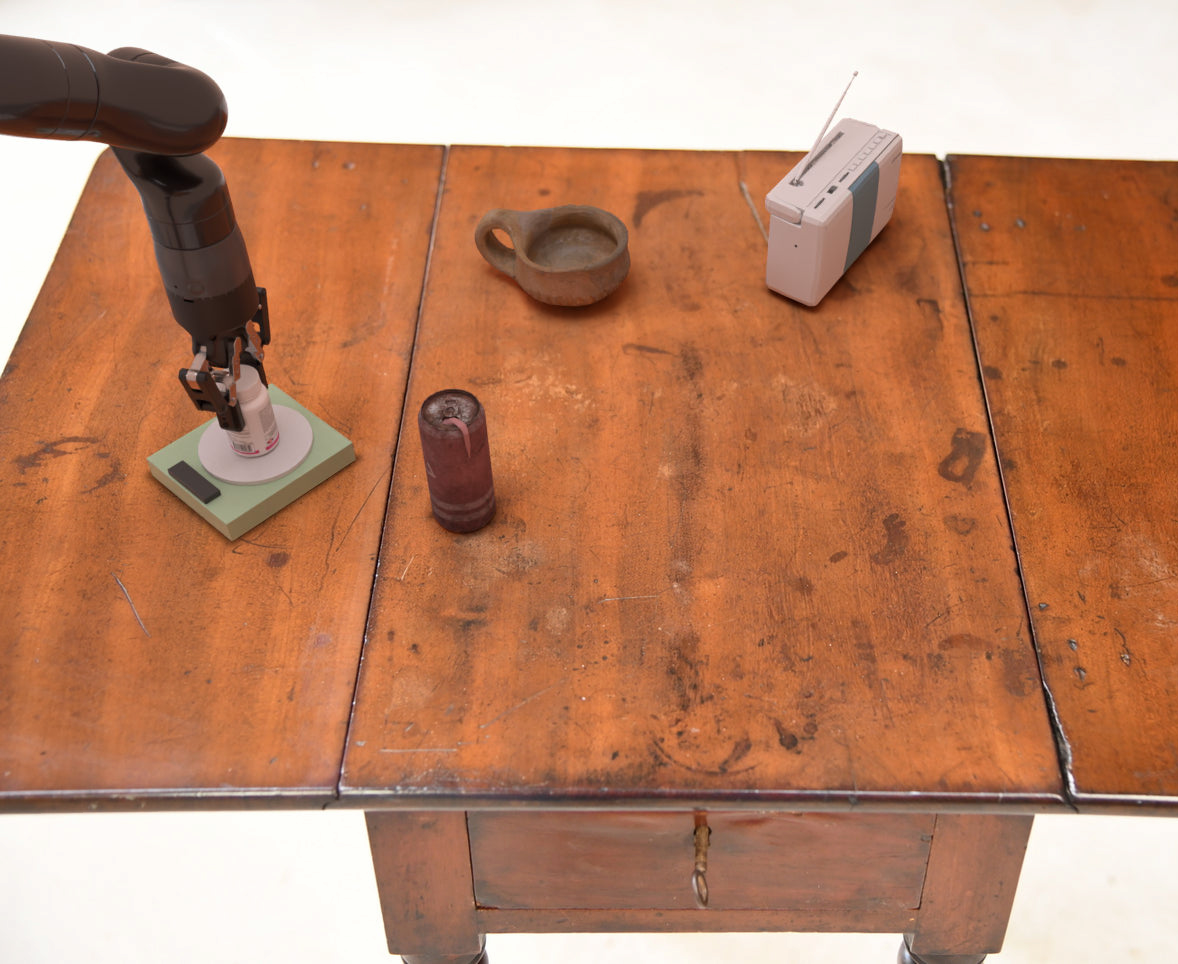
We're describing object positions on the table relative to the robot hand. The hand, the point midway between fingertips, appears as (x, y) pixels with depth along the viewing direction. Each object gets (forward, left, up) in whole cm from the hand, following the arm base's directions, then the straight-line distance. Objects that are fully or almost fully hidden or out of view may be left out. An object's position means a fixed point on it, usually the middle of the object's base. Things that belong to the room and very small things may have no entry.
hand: (245, 409), depth 135 cm
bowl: (+40, -1, -8) cm, 41 cm away
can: (+9, -20, -8) cm, 23 cm away
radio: (+66, -21, -8) cm, 70 cm away
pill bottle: (0, 0, -5) cm, 5 cm away
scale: (-1, 0, -8) cm, 8 cm away
